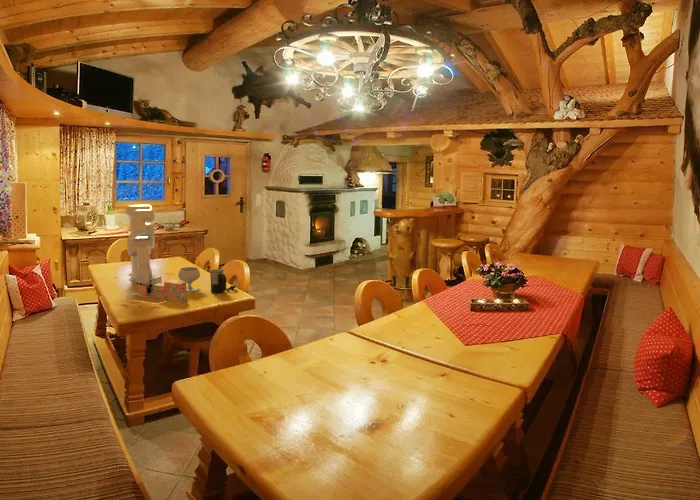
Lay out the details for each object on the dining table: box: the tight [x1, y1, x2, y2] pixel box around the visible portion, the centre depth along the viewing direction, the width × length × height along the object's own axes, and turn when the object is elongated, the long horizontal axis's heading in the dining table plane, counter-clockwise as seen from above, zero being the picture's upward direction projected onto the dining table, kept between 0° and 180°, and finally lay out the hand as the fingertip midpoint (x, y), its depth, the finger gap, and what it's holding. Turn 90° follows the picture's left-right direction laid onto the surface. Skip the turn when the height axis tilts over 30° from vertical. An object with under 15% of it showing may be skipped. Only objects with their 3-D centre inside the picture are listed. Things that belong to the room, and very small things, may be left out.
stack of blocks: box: [153, 279, 188, 303], centre depth 315 cm, size 21×6×12 cm, turn 70°
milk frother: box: [209, 268, 237, 294], centre depth 336 cm, size 14×16×15 cm
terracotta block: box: [137, 283, 152, 295], centre depth 322 cm, size 6×6×6 cm
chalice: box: [177, 266, 201, 293], centre depth 337 cm, size 14×14×15 cm
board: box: [131, 291, 155, 299], centre depth 327 cm, size 18×17×1 cm
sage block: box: [152, 275, 163, 287], centre depth 330 cm, size 6×6×6 cm
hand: (145, 292), depth 323 cm, fingers closed on terracotta block, 6 cm apart
